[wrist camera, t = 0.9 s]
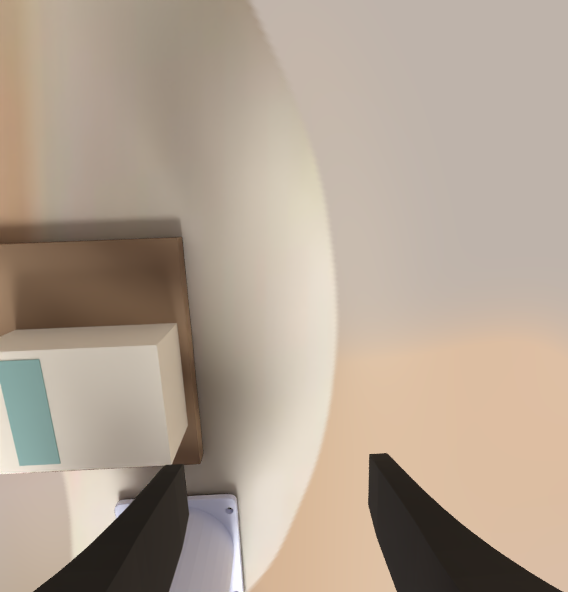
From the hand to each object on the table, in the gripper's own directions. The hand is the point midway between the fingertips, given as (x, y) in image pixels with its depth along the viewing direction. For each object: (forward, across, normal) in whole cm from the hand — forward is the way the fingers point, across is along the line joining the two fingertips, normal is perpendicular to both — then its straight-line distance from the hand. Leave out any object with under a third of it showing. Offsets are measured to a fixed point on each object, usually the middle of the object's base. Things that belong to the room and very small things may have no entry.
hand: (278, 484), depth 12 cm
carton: (+9, +10, 0) cm, 13 cm away
